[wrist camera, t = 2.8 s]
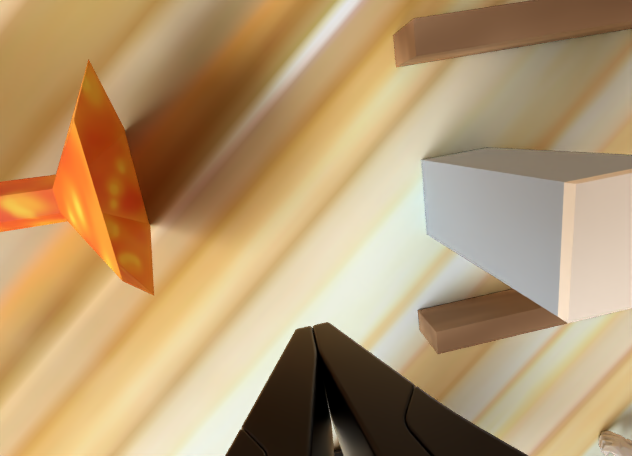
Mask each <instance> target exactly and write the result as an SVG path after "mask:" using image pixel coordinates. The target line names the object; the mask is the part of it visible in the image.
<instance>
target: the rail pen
mask: <svg viewBox="0 0 632 456" xmlns="http://www.w3.org/2000/svg"><path fill="white" fill-rule="evenodd" d="M626 29H632V0H532V1H525V2H519V3H512V4H506V5H499V6H492V7H486V8H479V9H473V10H466V11H460V12H453V13H447V14H440V15H433V16H427V17H420V18H414V19H412V20H411V21H410V22H409V23H407V24H406V25H405V26H404V27H403V28H401V29H400V30H399V31H398V32H397V33H395V34H394V35H393V38H394V49H395V60H396V67H400V66H406V65H412V64H418V63H425V62H431V61H437V60H443V59H449V58H455V57H461V56H467V55H473V54H479V53H486V52H492V51H498V50H504V49H510V48H516V47H522V46H528V45H534V44H541V43H547V42H553V41H559V40H565V39H571V38H577V37H583V36H589V35H595V34H602V33H608V32H614V31H620V30H626ZM418 317H419V329H420V331H421V333H422V334H423V335H424V336H425V338H426V339H427V340H428V342H429V343H430V344H431V346H432V347H433V348H434V350H435V351H436V352H437V353H438V354H440V353H444V352H448V351H453V350H457V349H461V348H465V347H469V346H474V345H478V344H482V343H486V342H491V341H495V340H499V339H503V338H508V337H512V336H516V335H520V334H524V333H529V332H533V331H537V330H541V329H546V328H550V327H554V326H558V325H562V324H567V322H565V321H564V320H562V319H561V318H559V317H557V316H556V315H554V314H553V313H551V312H549V311H548V310H546V309H545V308H543V307H542V306H540V305H538V304H537V303H535V302H534V301H532V300H530V299H529V298H527V297H526V296H524V295H522V294H521V293H519V292H518V291H516V290H515V289H510V290H506V291H501V292H497V293H492V294H488V295H483V296H479V297H474V298H470V299H466V300H461V301H457V302H452V303H448V304H443V305H439V306H434V307H430V308H426V309H421V310H418Z"/></svg>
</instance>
